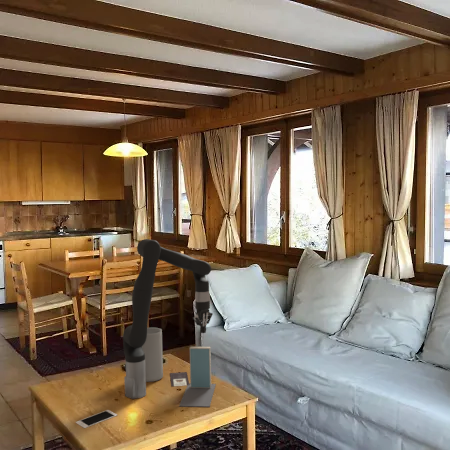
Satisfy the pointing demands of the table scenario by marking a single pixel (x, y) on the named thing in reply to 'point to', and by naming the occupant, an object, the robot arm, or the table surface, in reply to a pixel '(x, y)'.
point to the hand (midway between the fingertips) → (203, 332)
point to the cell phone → (96, 418)
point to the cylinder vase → (153, 355)
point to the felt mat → (197, 396)
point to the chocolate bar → (179, 379)
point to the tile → (200, 367)
